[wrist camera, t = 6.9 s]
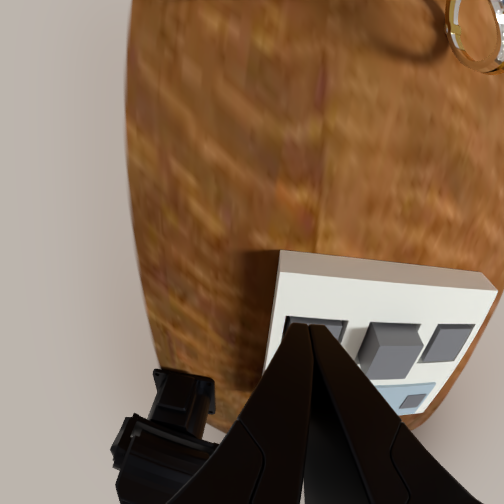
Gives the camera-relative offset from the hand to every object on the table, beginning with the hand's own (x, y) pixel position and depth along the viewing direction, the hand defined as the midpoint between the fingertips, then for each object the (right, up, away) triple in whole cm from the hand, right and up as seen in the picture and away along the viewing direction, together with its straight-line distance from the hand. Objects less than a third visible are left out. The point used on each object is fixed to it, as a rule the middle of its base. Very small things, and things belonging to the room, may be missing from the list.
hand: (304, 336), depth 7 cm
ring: (+12, +17, +5) cm, 22 cm away
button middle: (+9, -5, +14) cm, 17 cm away
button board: (+9, -6, +17) cm, 20 cm away
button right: (+15, -4, +15) cm, 22 cm away
